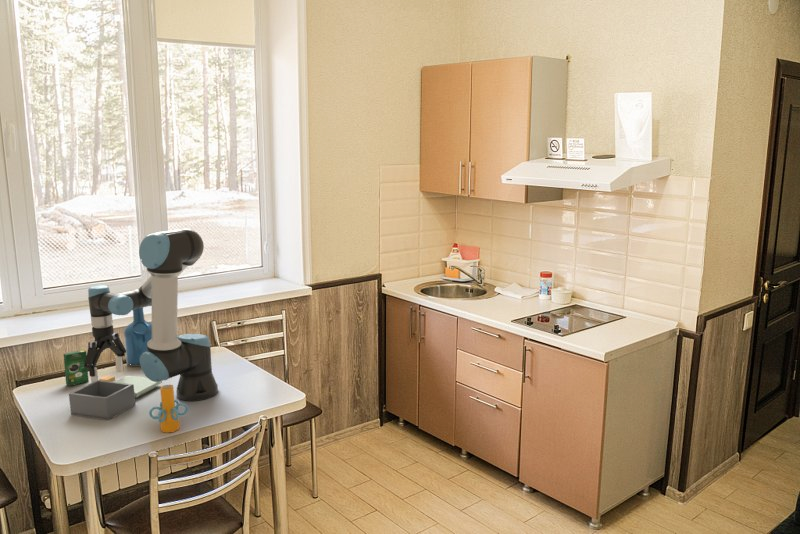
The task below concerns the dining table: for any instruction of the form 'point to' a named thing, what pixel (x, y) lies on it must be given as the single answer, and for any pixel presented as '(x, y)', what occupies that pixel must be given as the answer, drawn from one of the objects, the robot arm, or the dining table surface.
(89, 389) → the tub
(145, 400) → the dining table surface
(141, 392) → the lid
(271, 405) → the dining table surface
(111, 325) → the robot arm
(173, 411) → the orange post with rings
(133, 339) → the wine bottle
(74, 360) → the coffee box
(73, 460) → the dining table surface
